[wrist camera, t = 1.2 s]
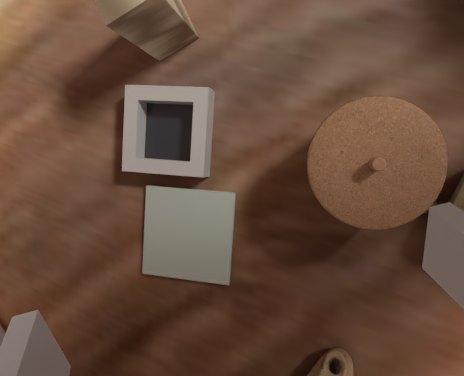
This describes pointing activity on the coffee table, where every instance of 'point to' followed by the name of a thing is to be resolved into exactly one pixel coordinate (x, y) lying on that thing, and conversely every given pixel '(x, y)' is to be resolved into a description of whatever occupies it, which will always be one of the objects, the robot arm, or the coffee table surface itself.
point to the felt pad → (188, 234)
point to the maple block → (150, 24)
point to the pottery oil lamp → (333, 364)
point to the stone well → (168, 130)
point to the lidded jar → (377, 163)
